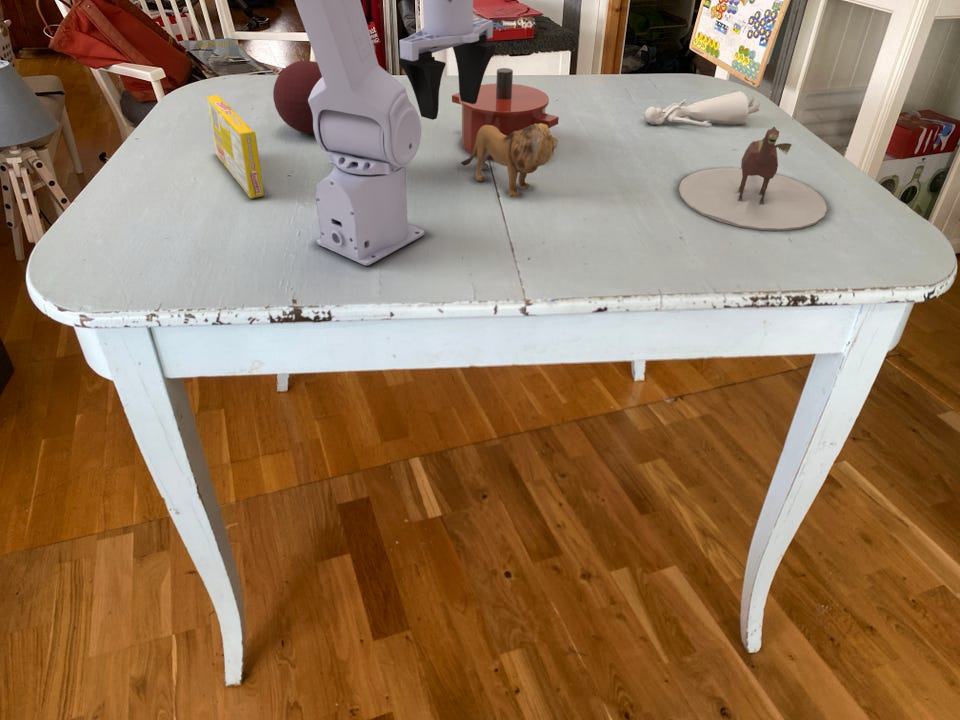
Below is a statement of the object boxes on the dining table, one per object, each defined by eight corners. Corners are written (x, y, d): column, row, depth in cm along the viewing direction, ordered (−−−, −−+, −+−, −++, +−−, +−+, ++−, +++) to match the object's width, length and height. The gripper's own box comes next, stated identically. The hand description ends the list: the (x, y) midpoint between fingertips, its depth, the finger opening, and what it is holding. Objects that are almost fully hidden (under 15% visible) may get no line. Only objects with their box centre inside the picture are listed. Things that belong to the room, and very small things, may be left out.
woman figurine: (775, 103, 105) (658, 114, 104) (769, 132, 108) (655, 144, 107) (743, 80, 115) (634, 90, 113) (738, 107, 117) (632, 118, 116)
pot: (527, 172, 95) (529, 125, 91) (432, 142, 103) (430, 97, 99) (572, 147, 102) (577, 103, 99) (480, 121, 111) (481, 79, 107)
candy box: (267, 196, 88) (255, 130, 83) (250, 200, 87) (237, 134, 82) (231, 153, 99) (219, 92, 94) (216, 156, 98) (202, 95, 93)
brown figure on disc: (832, 240, 81) (865, 148, 74) (673, 217, 85) (691, 128, 78) (820, 179, 95) (847, 97, 88) (683, 162, 99) (699, 82, 92)
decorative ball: (350, 120, 110) (343, 52, 104) (342, 144, 102) (334, 72, 96) (286, 120, 110) (275, 52, 104) (273, 143, 102) (260, 71, 96)
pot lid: (513, 127, 92) (515, 90, 89) (440, 106, 98) (439, 71, 96) (565, 103, 100) (568, 68, 97) (494, 85, 106) (495, 52, 103)
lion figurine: (560, 192, 90) (566, 122, 85) (535, 206, 87) (540, 134, 81) (473, 162, 98) (474, 96, 92) (447, 173, 94) (446, 105, 89)
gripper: (431, 2, 73) (434, 132, 81) (514, -17, 82) (509, 102, 90) (383, -7, 76) (390, 118, 85) (467, -24, 86) (467, 90, 94)
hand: (449, 109), depth 88 cm, fingers open, 7 cm apart
